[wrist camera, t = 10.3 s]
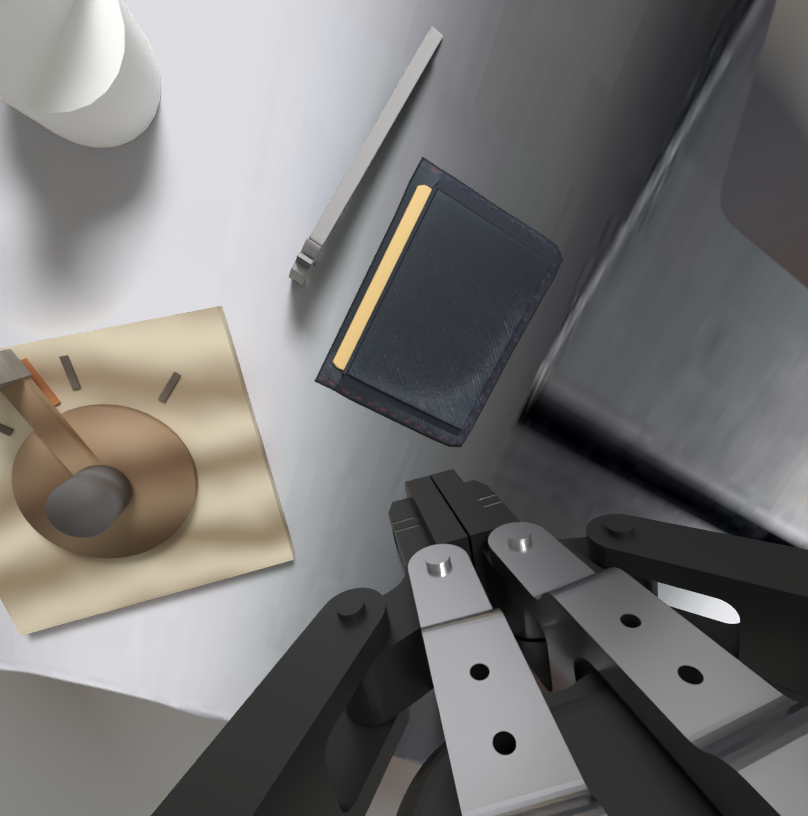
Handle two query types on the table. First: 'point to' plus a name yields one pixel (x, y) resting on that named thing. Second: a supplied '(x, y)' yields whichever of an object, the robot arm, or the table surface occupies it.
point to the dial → (97, 472)
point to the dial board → (196, 426)
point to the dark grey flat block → (440, 308)
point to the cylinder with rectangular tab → (79, 69)
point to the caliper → (364, 158)
